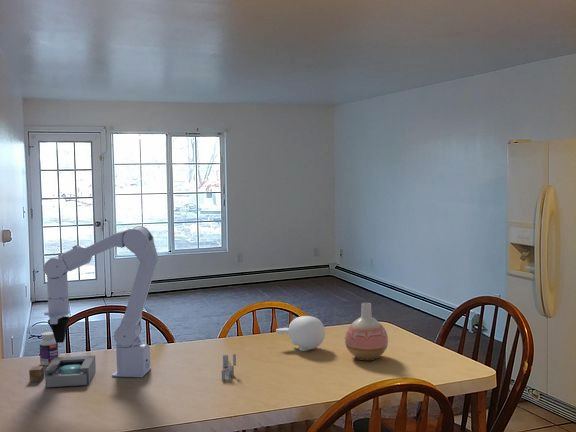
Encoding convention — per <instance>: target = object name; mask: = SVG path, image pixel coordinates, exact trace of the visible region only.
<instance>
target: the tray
mask: <svg viewBox="0 0 576 432" xmlns="http://www.w3.org/2000/svg"><path fill="white" fill-rule="evenodd" d="M78 365H82V364H78ZM63 366H66V365H59V366H58V367H57V369H56V370H55V372H54V373H52V374H51V375H50V376H46V382H45V388H57V387H73V386H88V385H87V373H86V371H81V374H67V375H61V367H63Z"/></svg>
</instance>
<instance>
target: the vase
mask: <svg viewBox="0 0 576 432" xmlns="http://www.w3.org/2000/svg"><path fill="white" fill-rule="evenodd" d="M360 308H361V309H360V310H361V313H360V317H358V318H357V319H355V320H354V321H353V322H351V323H350V325H349V326H348V327H347V330H346V332H345V336H344V344H345V347H346V350H348V352H349V353H350V354H351V355H352V356H354V358H356V359H357V360H360V361H364V362H365V361H367V362H368V361H374V360H377V359H379V357H380V356H382V355H383V354H384V353H385V351H386V350H387V348H388V346H389V337H388V333H387V331H386V328H385V327H384V326H383V324H381V322H380V321H378V320H377V319H376V318H375V317H372V315H373V314H372V303H370V302H361V307H360Z"/></svg>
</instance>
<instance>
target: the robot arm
mask: <svg viewBox="0 0 576 432" xmlns="http://www.w3.org/2000/svg"><path fill="white" fill-rule="evenodd" d="M114 247H117V248H121V249H123V248H127V250H129V251H130V252H131V253H133V254H134V255H135V257H136V258H137V260H138V262H139V266H138V267H137V271H136V275H135V278H134V282H133V286H132V289H131V292H130V295H129V299H128V301H127V305H126V308H125V312H124V315H123V317H122V319H121V321H120V324H119V326H118V327H117V328H116V329H115V330H114V332H113V338H114V341H115V348H116V349H115V353H116V355H115V357H116V371H115V372H113V373H112V374H111V377H116V378H118V377H123V378H143V377H144V376H145V375H146V374H148V373H149V372H150V370H151V369H152V367H151V349H150V345H149V344H146V343H142V342H141V340H142V339H141V338H140V337H139V336H140V335H141V332H142V329H143V328H142V319H143V310H144V308H145V304H146V301H147V297H148V294H149V291H150V287H151V284H152V281H153V278H154V275H155V271H156V268H157V265H158V262H159V256H158V255H159V254H158V251H157V247H156V245H155V239H154V235H153V234H152V233H151V232H150V230H149V229H148V228H147V227H145V226H142V225H138V226H134V227H133V228H127V229H125V230H122V231H119V232H115V233H114V234H112V235H110V236H108V237H107V236H106V237H105V238H103V239H101V240H99V241H97V242H94V243H92V244H91V245H89V246H86V245H83V244H80V245H78V244H76V245H74V246H72V249H70V250H67V251H64V252H60V253H57V255H58V256H55V257H50V258H49V259H48V260H47V261H45V263H44V265H43V271H44V272H43V273H44V274H45V275H46V284H47V285H46V287H47V291H46V292H47V307H48V308H47V309H48V311H45V312H44V314H43V315H44V316H48V318H49V319H48V320H47V324H48V326H49V327H50V329H51V332H53V334H54V338H55V341H56V343H58V344H60V343H61V344H64V342H65V339H66V333H67V327H68V324H69V322H70V319H71V316H68V315H70V312H71V311H70V305H69V303H70V302H69V283H68V272H71V271H74V270H77V269H78V268H80V267H82V266H85V265H87V264H89V263H90V262H91V260H92V258H93V256H96V255H98V254H101V253H103V252H105V251H107V250H109V249H112V248H114Z"/></svg>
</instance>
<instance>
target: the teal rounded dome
mask: <svg viewBox="0 0 576 432" xmlns="http://www.w3.org/2000/svg"><path fill="white" fill-rule="evenodd" d="M80 367H81V365H78V364H71V365H66V366H63V367H61V375H67V374H81V371H80Z"/></svg>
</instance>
